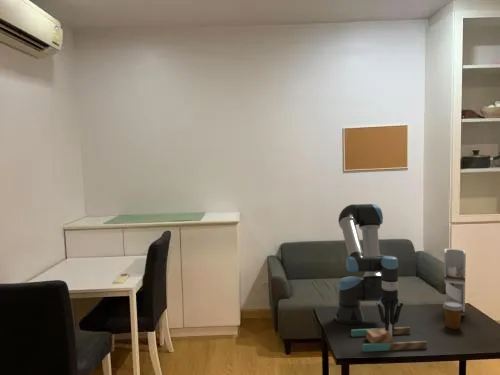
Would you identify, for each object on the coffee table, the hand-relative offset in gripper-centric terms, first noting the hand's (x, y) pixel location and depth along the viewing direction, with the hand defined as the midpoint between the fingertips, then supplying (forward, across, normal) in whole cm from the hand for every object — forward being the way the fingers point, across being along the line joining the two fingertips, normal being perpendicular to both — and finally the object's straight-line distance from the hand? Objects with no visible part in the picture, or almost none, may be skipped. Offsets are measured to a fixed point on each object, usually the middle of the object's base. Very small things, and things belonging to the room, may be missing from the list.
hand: (389, 336), depth 213 cm
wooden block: (+3, -5, 0) cm, 6 cm away
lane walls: (+2, +5, 0) cm, 6 cm away
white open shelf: (+3, +54, +36) cm, 64 cm away
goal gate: (+2, -10, 0) cm, 10 cm away
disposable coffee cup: (+3, +40, +14) cm, 43 cm away
